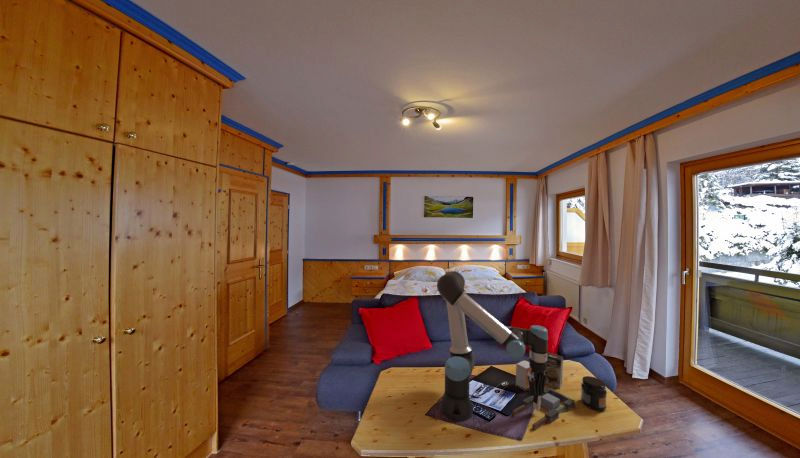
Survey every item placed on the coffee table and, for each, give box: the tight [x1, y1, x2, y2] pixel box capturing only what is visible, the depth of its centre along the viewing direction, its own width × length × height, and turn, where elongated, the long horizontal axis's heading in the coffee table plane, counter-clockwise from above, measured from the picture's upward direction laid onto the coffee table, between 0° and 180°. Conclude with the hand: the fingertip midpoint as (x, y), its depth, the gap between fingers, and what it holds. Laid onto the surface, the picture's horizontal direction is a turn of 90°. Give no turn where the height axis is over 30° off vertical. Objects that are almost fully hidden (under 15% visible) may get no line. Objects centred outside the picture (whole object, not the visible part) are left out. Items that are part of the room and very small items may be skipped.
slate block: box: [540, 393, 561, 411], centre depth 137 cm, size 6×6×4 cm
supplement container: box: [580, 375, 608, 411], centre depth 139 cm, size 10×10×12 cm
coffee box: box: [545, 351, 564, 390], centre depth 157 cm, size 9×6×16 cm
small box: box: [515, 360, 532, 389], centre depth 153 cm, size 8×6×13 cm
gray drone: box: [511, 386, 576, 431], centre depth 134 cm, size 14×32×3 cm, turn 123°
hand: (536, 408), depth 131 cm, fingers closed
